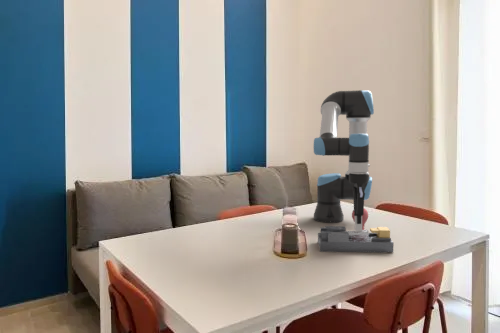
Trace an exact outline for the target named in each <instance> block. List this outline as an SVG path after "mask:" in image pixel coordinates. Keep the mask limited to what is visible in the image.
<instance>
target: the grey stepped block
mask: <svg viewBox="0 0 500 333" xmlns="http://www.w3.org/2000/svg"><path fill="white" fill-rule="evenodd" d="M319 229H320V230H319V232H318V233H317V244H318V248H319V252H321V253H323V252H329V253H331V252H332V253H333V252H335V253H337V252H338V253H339V252H340V253H383V252H393V253H394V241H393V240H392V238H391V237H390V238H378V237H377V233H371V232H369V234H364V235H351V236H349V234H348V232H343V231H347V228H346V226H345V225H343V226H342V225H339V226H338V225H337V226H336V225H325V226H324V227H323V226H322V227H321V226H320V227H319Z"/></svg>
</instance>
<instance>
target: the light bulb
mask: <svg viewBox="0 0 500 333" xmlns="http://www.w3.org/2000/svg"><path fill="white" fill-rule="evenodd" d="M363 213H364V214H363V215H362V230H365V225H366V222H367V221H368V218H369V213H368V211H367V209H366V208H364V212H363ZM354 214H355V213H354V209H353V210H352V212H351V218H352V221H353V222H354V223H355V216H354Z"/></svg>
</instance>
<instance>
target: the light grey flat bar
mask: <svg viewBox="0 0 500 333" xmlns="http://www.w3.org/2000/svg"><path fill="white" fill-rule="evenodd" d="M343 232H348V234H349V236H351V235H364V234H369V233H370V231H369V230H368V229H364V230H362V232H355V230H346V231H343Z"/></svg>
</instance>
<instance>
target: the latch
mask: <svg viewBox="0 0 500 333" xmlns="http://www.w3.org/2000/svg"><path fill="white" fill-rule="evenodd" d="M369 232H370V233H377V237H378V238H391V230H390V228H389V227H388V226H377V227H375V228H374V227H369Z"/></svg>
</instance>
